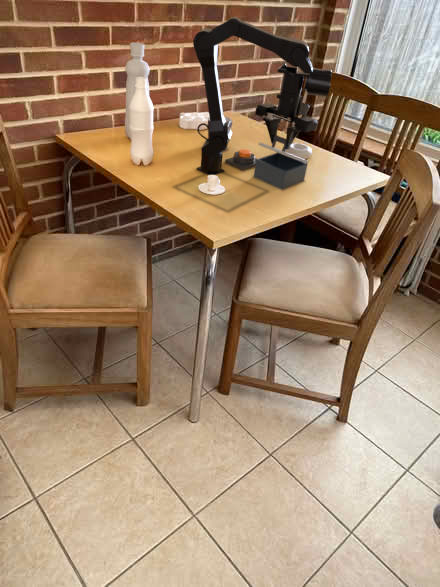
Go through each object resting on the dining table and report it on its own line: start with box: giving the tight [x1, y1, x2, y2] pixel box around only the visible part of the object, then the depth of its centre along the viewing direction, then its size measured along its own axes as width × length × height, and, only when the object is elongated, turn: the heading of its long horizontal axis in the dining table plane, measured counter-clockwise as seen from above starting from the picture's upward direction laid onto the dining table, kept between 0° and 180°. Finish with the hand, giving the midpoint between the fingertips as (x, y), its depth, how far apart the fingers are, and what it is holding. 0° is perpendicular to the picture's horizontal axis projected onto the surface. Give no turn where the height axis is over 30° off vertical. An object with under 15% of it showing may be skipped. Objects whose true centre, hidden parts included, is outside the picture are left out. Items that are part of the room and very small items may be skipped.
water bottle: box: [129, 77, 155, 166], centre depth 137 cm, size 7×7×25 cm
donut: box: [285, 142, 313, 160], centre depth 163 cm, size 10×4×10 cm
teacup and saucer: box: [197, 174, 226, 196], centre depth 133 cm, size 9×8×4 cm
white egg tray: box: [178, 111, 210, 131], centre depth 180 cm, size 3×18×15 cm
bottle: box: [124, 42, 151, 140], centre depth 153 cm, size 9×9×30 cm
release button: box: [238, 148, 252, 158], centre depth 151 cm, size 4×4×2 cm
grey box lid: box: [258, 134, 309, 164], centre depth 139 cm, size 12×12×4 cm
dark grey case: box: [253, 152, 309, 191], centre depth 143 cm, size 12×12×6 cm
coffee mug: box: [196, 116, 234, 152], centre depth 159 cm, size 12×9×10 cm
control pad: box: [224, 150, 257, 172], centre depth 152 cm, size 10×8×3 cm
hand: (280, 146), depth 137 cm, fingers closed on grey box lid, 5 cm apart
